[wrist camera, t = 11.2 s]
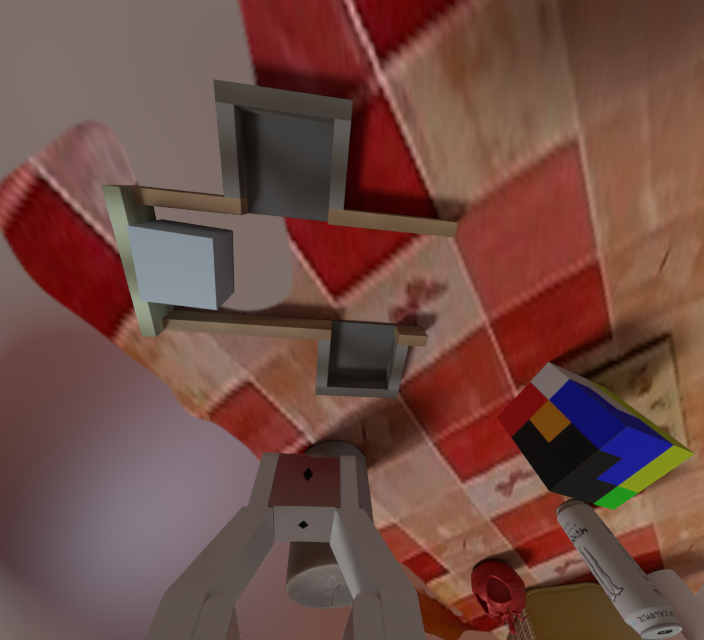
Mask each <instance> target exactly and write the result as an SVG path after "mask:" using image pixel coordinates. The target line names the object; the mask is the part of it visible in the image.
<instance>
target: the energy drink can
mask: <svg viewBox="0 0 704 640" xmlns="http://www.w3.org/2000/svg"><path fill="white" fill-rule="evenodd" d="M556 513H557V515H558V516H557V520H558V522H559V523H560V525H561V526H562V528H563V529H564V531H565V532H566V534H567V535H568V537H569V538H570V540H571V541H572V543H573V544H574V546H575V547H576V549H577V550H578V552H579V553H580V555H581V556H582V558H583V559H584V561H585V562H586V564H587V565H588V567H589V568H590V570H591V571H592V573H593V574H594V576H595V577H596V579H597V580H598V582H599V583H600V585H601V586H602V588H603V589H604V591H605V592H606V594H607V595H608V597H609V598H610V600H611V601H612V603H613V604H614V606H615V607H616V609H617V610H618V612H619V613H620V615H621V616H622V618H623V619H624V621H625V622H626V623H627V624H628V625H629V626H631V627H632V628H633V629H634V630H635V631H637V632H638V633H639V634H640V636H641V638H642V639H643V640H660V639H664V638H668V637H671V636H673V635H675V634H677V633H679V632H680V631H681V630H682V627H681V626H680V625H679V624H678V622H677V620H676V617H675V614H674V611H673V609H672V607H671V606H670V604H669V603H668V602H667V601H666V599H665V598H664V597H663V596H662V594H661V593H660V592H659V591H658V589H657V588H656V587H655V586H654V584H653V583H652V582H651V581H650V579H649V578H648V577H647V576H646V574H645V573H644V572H643V571H642V569H641V568H640V567H639V566H638V564H637V563H636V562H635V561H634V559H633V558H632V557H631V556H630V554H629V553H628V552H627V551H626V549H625V548H624V547H623V546H622V545H621V543H620V542H619V541H618V540H617V538H616V537H615V536H614V535H613V533H612V532H611V531H610V530H609V528H608V527H607V526H606V525H605V523H604V522H603V521H602V520H601V518H600V517H599V516H598V515H597V513H596V512H595V511H594V510H593V508H592V507H591V506H589V505H587V504H584V502H582V501H579V500H573V501H569V502H566V503H564V504H562V505H561V506H559V507H558V509H557V510H556Z"/></svg>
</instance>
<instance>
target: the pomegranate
mask: <svg viewBox="0 0 704 640" xmlns="http://www.w3.org/2000/svg"><path fill="white" fill-rule="evenodd" d="M471 585H472V592H473V594H474V597H475V598H476V600H477V602H478V604H479V605H480V607H481V608H482V609H483V611H484V612H485V613H486V614H487V615H488V616H489V617H491V618H493V619H494V620H497V619H498V618H501V617H502V622H501V623H499V624H497V627H498V626H503V625H504V623H505V621H506V620H507V622H508V624H509V629H510V633H511V634H516V633H517V631H516V629H515V628H514V625H513V622H512V621H514V619H513V615H514V616H516V617H518V618H520V619H521V620H525V619H526V618H527V616H528V615H529V614H530V613H529V614H527V615H526V616H525V617H524V618H521V617H520V616H519V615H521V613H522V610H523V609H524V608H525V607H526V598H527V593H526V588H525V584H524V582H523V580H522V579H521V578H520V576H519V575H518V574H517V573H516V572H515V571H514V570H513V568H512V567H511V566H509V565H507V564H506V563H504V562H501V561H496V560H493V561H491V560H490V561H486V562H483V563H481V564H480V565H479V566H478V567H476V568H475V569H474V570H473V571H472V574H471ZM514 623H518V622H517V621H516V622H515V621H514Z"/></svg>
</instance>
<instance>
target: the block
mask: <svg viewBox="0 0 704 640" xmlns="http://www.w3.org/2000/svg"><path fill="white" fill-rule="evenodd" d="M127 229H128V235H129V240H130V245H131V251H132V256H133V261H134V267H135V272H136V277H137V283H138V288H139V293H140V299H141V301H146V302H155V303H163V304H171V305H179V306H187V307H196V308H204V309H212V310H217V309H218V308H219V307H220V306H221V305H222V304H223V303H224V302H225V301H226V300H227V299H228V298H229V297H230V296H231V295H232V294H233V293H234V256H233V231H232V230H227V229H220V228H215V227H208V226H202V225H195V224H189V223H183V222H176V221H170V220H164V219H162V220H156V221H150V222H144V223H139V224H133V225H127Z"/></svg>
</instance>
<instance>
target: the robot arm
mask: <svg viewBox="0 0 704 640" xmlns="http://www.w3.org/2000/svg"><path fill="white" fill-rule="evenodd" d="M296 541H306V542H330V546H331V548H332V551H333V553H334V555H335V557H336V560H337V562H338V564H339V567H340V569H341V571H342V574H343V576H344V578H345V581H346V583H347V585H348V588H349V590H350V592H351V595H352V597H353V599H354V600H353V602H352V606H351V609H350V613H349V616H348V619H347V623H346V626H345V630H344V633H343V637H342V640H426V638H425V633H424V627H423V622H422V617H421V612H420V607H419V602H418V596H417V591H416V590H415V588H414V587H413V585H412V584H411V582H410V581H409V579H408V577H407V576H406V574H405V573H404V571H403V569H402V568H401V566H400V565H399V563H398V562H397V560H396V558H395V557H394V555H393V554H392V552H391V551H390V549H389V548H388V546H387V544H386V543H385V541H384V540H383V538H382V537H381V535H380V533H379V532H378V530H377V529H376V527H375V526H374V524H373V522H372V521H371V519H370V518H369V516H368V515H367V513H366V512H365V510H364V509H360V508H359V500H358V485H357V471H356V459H355V456H342V455H340V456H339V455H322V454H310V455H305V454H287V453H267V452H264V454H263V456H262V458H261V462H260V465H259V469H258V473H257V476H256V479H255V483H254V487H253V490H252V494H251V497H250V501H249V504H248V506H247V507H242V508H241V509H240V510H239V511H238V512H237V514H236V515H235V516H234V517H233V518H232V519H231V520H230V521H229V522H228V524H227V525H226V526H225V527H224V528H223V529H222V530H221V531H220V532H219V533H218V535H217V536H216V537H215V538H214V539H213V540H212V541H211V542H210V543H209V544H208V546H207V547H206V548H205V549H204V550H203V551H202V552H201V553H200V554H199V555H198V557H197V558H196V559H195V560H194V561H193V562H192V563H191V564H190V565H189V567H188V568H187V569H186V570H185V571H184V572H183V573H182V575H180V576H179V578H178V579H177V580H176V581H175V582H174V583H173V584H172V585H171V586H170V587H169V589H168V590H167V591H166V592H165V593H164V595H163V597H162V600H161V602H160V604H159V607H158V609H157V611H156V614H155V616H154V619H153V621H152V623H151V625H150V628H149V630H148V632H147V635H146V637H145V639H144V640H241V639H240V633H239V627H238V621H237V615H236V609H235V603H236V602H237V600H238V599H239V597H240V596H241V594H242V592H243V591H244V589H245V588H246V586H247V585H248V583H249V582H250V580H251V579H252V577H253V576H254V574H255V572H256V571H257V569H258V568H259V566H260V565H261V563H262V562H263V560H264V559H265V557H266V555H267V554H268V552H269V551H270V549H271V548H272V546H273V544H274V542H296Z"/></svg>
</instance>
